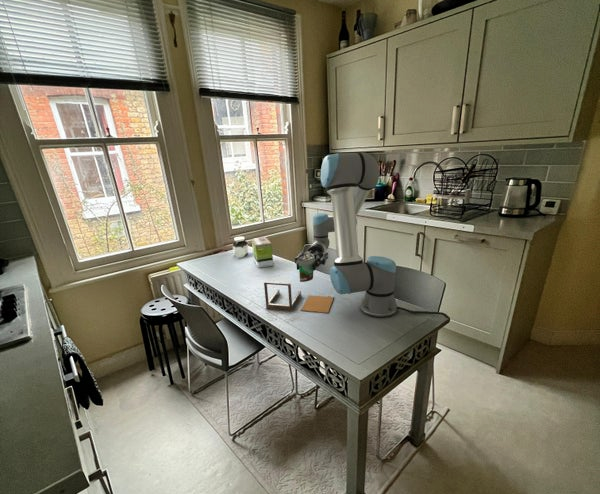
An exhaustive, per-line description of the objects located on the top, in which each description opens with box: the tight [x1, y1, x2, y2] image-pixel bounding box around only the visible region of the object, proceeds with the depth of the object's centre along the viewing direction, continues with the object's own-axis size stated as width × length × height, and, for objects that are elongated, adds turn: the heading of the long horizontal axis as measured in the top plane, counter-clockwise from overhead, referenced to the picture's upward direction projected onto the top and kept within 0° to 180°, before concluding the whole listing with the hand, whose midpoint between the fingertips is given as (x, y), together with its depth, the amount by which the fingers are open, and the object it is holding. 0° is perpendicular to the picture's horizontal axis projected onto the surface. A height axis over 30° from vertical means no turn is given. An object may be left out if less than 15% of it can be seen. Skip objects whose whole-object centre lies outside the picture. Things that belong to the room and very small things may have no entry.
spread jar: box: [232, 236, 250, 259], centre depth 214 cm, size 12×11×12 cm
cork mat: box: [300, 295, 334, 314], centre depth 144 cm, size 12×15×1 cm
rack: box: [263, 281, 302, 312], centre depth 145 cm, size 12×16×13 cm
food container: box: [298, 251, 315, 283], centre depth 138 cm, size 12×6×10 cm, turn 169°
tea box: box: [251, 236, 274, 268], centre depth 197 cm, size 15×10×15 cm, turn 17°
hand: (305, 267), depth 133 cm, fingers closed on food container, 6 cm apart
